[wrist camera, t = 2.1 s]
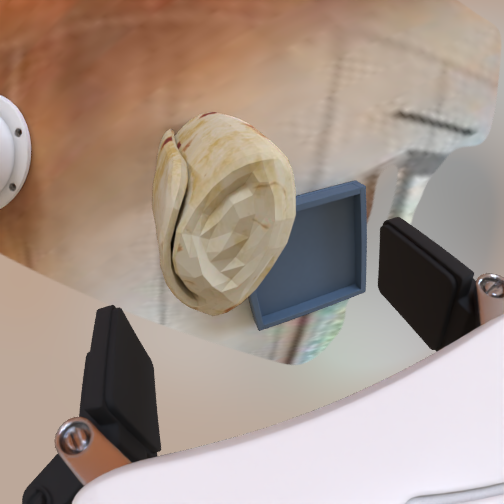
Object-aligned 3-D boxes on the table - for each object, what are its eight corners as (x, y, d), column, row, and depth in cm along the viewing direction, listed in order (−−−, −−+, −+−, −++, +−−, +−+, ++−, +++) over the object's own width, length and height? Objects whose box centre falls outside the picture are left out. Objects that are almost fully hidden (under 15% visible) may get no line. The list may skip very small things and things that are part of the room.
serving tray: (254, 320, 43) (258, 331, 41) (227, 215, 35) (232, 223, 33) (357, 283, 45) (365, 292, 43) (355, 180, 37) (365, 186, 35)
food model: (202, 206, 33) (256, 345, 17) (140, 187, 31) (127, 323, 14) (240, 118, 30) (350, 171, 13) (176, 94, 27) (203, 105, 10)
